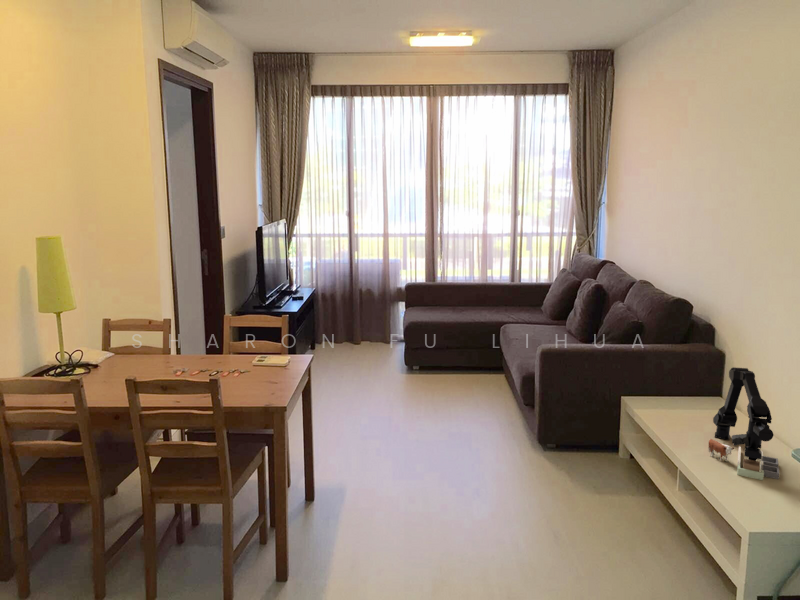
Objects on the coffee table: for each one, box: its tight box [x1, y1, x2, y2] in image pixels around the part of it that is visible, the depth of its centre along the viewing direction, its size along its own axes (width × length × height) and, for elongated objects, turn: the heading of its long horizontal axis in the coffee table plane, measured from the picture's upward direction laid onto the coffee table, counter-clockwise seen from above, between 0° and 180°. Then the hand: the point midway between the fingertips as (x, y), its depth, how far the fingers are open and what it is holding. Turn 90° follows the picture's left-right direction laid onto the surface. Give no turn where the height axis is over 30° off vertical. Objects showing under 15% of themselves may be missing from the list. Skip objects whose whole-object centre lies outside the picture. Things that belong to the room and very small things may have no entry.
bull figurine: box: [708, 438, 735, 463], centre depth 283 cm, size 4×13×8 cm, turn 15°
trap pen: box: [736, 445, 780, 481], centre depth 277 cm, size 27×15×3 cm, turn 151°
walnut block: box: [742, 458, 761, 472], centre depth 270 cm, size 6×6×5 cm
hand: (750, 465), depth 275 cm, fingers closed
